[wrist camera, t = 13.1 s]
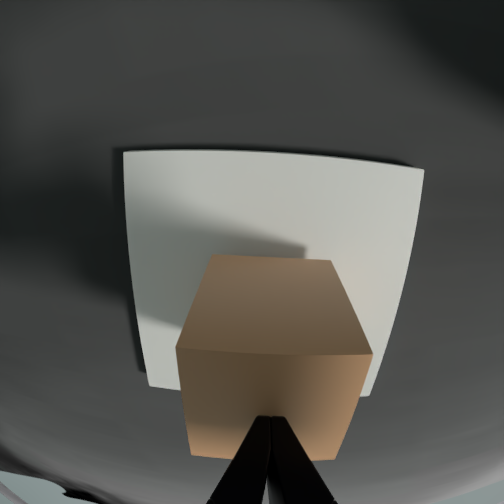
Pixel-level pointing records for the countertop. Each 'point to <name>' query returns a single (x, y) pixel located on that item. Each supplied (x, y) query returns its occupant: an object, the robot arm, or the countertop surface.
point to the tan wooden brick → (270, 354)
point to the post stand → (264, 232)
